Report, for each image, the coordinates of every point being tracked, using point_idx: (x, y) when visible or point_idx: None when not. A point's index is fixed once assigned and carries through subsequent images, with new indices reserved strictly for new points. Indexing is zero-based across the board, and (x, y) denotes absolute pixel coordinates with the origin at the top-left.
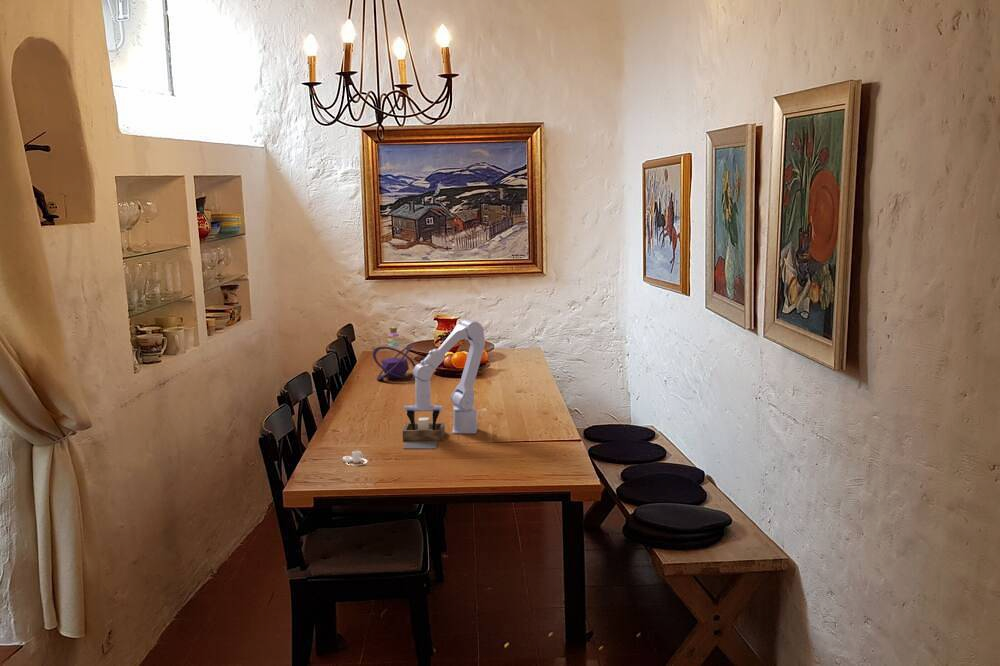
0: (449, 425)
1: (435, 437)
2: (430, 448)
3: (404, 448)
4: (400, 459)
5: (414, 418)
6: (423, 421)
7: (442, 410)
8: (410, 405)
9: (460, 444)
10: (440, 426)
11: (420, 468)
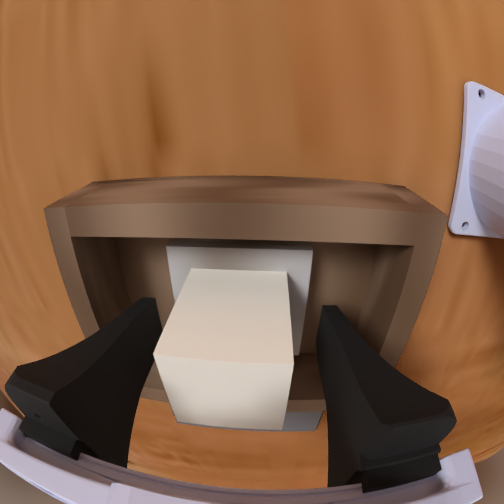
0: (425, 5)
1: None
2: (292, 430)
3: (181, 422)
4: (200, 463)
5: (110, 353)
6: (233, 421)
7: (465, 452)
8: (16, 472)
9: (426, 382)
10: (389, 332)
11: (265, 487)
